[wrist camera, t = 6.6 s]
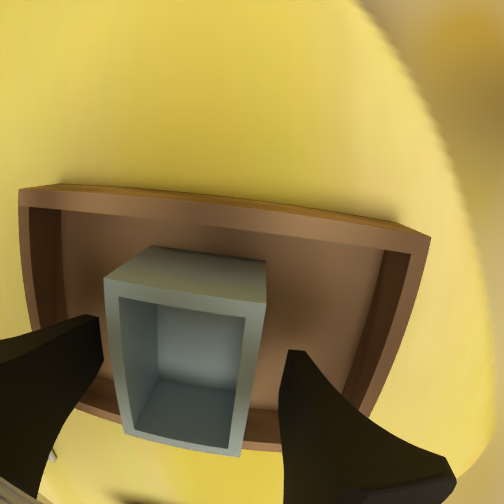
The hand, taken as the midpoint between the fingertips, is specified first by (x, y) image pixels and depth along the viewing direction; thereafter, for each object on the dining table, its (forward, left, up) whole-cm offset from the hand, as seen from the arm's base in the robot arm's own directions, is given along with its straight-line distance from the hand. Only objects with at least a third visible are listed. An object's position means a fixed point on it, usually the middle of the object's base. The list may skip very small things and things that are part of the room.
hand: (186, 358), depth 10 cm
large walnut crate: (0, 0, -3) cm, 3 cm away
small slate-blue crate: (0, 0, -3) cm, 3 cm away
